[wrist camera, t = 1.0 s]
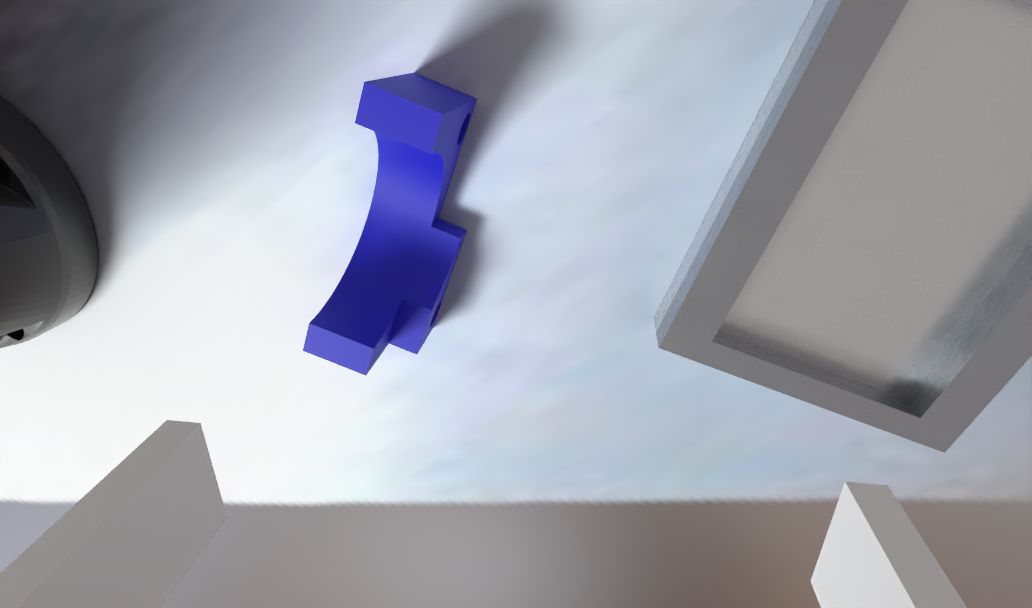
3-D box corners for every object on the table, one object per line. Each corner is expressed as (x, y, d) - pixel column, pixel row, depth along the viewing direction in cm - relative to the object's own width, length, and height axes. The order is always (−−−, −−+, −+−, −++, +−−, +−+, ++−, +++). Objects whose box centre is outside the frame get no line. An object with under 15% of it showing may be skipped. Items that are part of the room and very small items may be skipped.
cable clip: (433, 326, 31) (397, 387, 26) (355, 295, 31) (303, 350, 25) (508, 110, 26) (482, 130, 20) (415, 72, 26) (364, 82, 20)
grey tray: (653, 318, 29) (658, 347, 26) (862, -94, 21) (901, -113, 18) (913, 413, 29) (944, 452, 26) (1220, 42, 21) (1311, 43, 18)
